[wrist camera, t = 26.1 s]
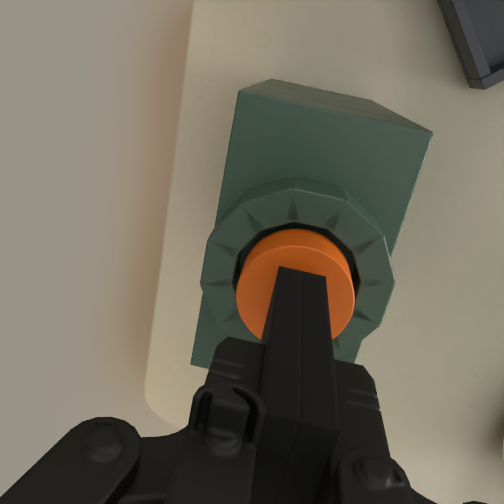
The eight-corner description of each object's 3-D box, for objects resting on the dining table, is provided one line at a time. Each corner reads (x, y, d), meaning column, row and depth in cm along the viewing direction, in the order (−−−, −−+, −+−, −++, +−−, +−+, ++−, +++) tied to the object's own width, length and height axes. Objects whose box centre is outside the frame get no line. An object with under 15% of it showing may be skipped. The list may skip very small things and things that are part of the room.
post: (270, 78, 31) (230, 92, 15) (372, 100, 31) (449, 139, 14) (238, 240, 36) (179, 391, 19) (326, 260, 36) (345, 429, 19)
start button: (253, 216, 16) (247, 233, 15) (363, 241, 16) (370, 260, 15) (233, 312, 18) (226, 336, 16) (333, 335, 18) (336, 362, 16)
